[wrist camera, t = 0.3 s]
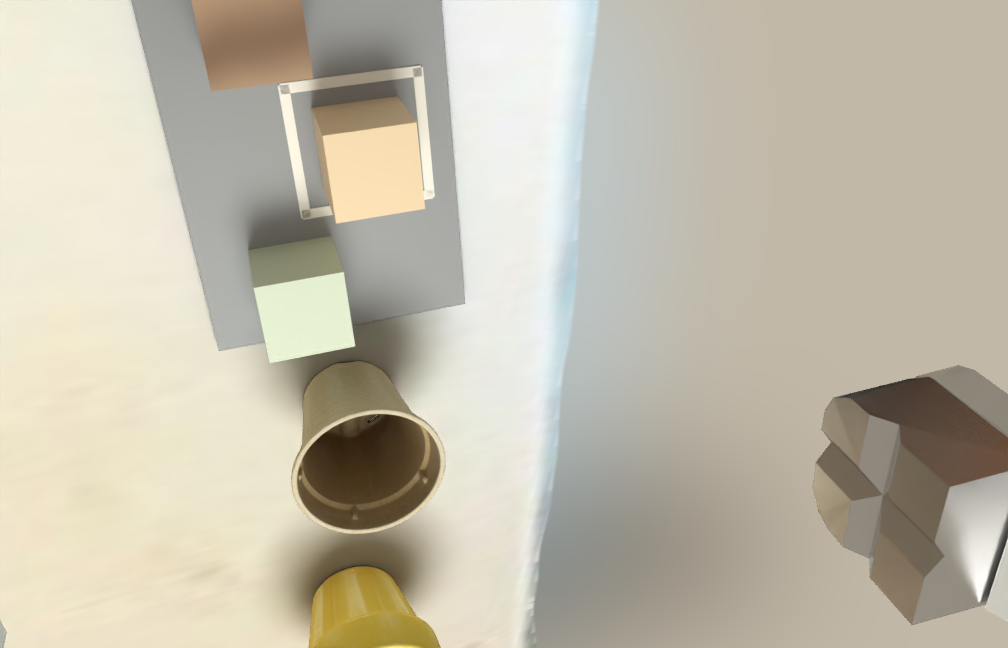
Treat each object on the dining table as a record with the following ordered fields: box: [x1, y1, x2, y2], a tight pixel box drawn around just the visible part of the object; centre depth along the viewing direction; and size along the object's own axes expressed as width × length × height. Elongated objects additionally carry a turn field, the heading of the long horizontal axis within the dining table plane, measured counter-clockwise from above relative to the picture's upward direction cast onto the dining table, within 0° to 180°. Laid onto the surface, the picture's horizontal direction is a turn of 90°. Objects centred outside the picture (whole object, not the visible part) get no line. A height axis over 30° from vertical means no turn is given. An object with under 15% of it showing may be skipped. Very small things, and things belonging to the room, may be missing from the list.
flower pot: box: [291, 361, 445, 534], centre depth 59 cm, size 9×9×9 cm
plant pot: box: [309, 566, 440, 648], centre depth 68 cm, size 10×10×10 cm
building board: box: [132, 0, 465, 351], centre depth 51 cm, size 24×16×6 cm, turn 3°
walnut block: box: [191, 0, 314, 92], centre depth 46 cm, size 5×5×5 cm
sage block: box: [248, 236, 355, 363], centre depth 54 cm, size 5×5×5 cm
